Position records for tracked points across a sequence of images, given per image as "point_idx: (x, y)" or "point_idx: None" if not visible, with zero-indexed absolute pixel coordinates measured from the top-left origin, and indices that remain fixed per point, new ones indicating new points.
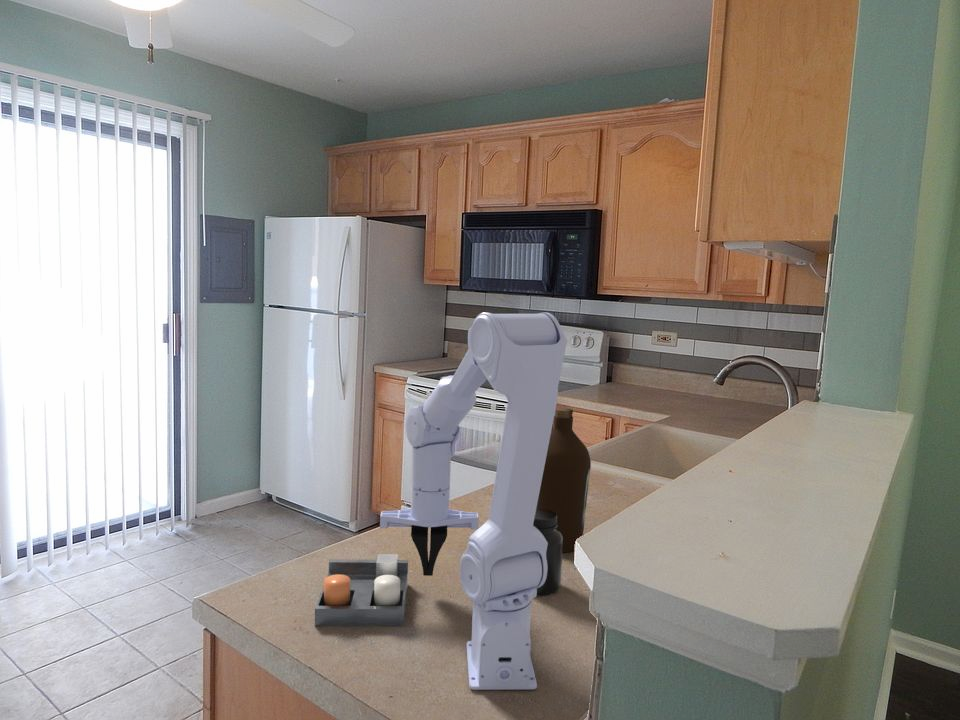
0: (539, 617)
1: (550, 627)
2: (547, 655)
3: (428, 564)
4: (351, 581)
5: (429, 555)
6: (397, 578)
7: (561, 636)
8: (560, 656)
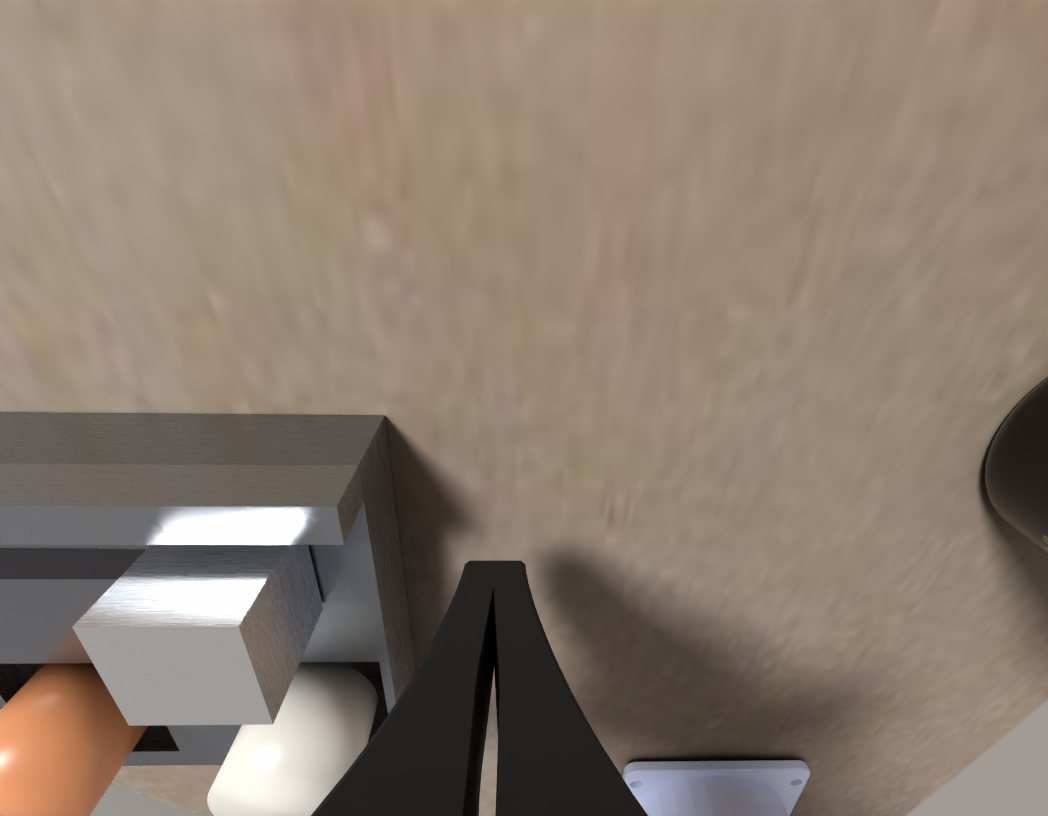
0: (930, 645)
1: (933, 689)
2: (843, 781)
3: (494, 633)
4: (67, 597)
5: (497, 672)
6: (327, 793)
7: (938, 722)
8: (877, 783)
